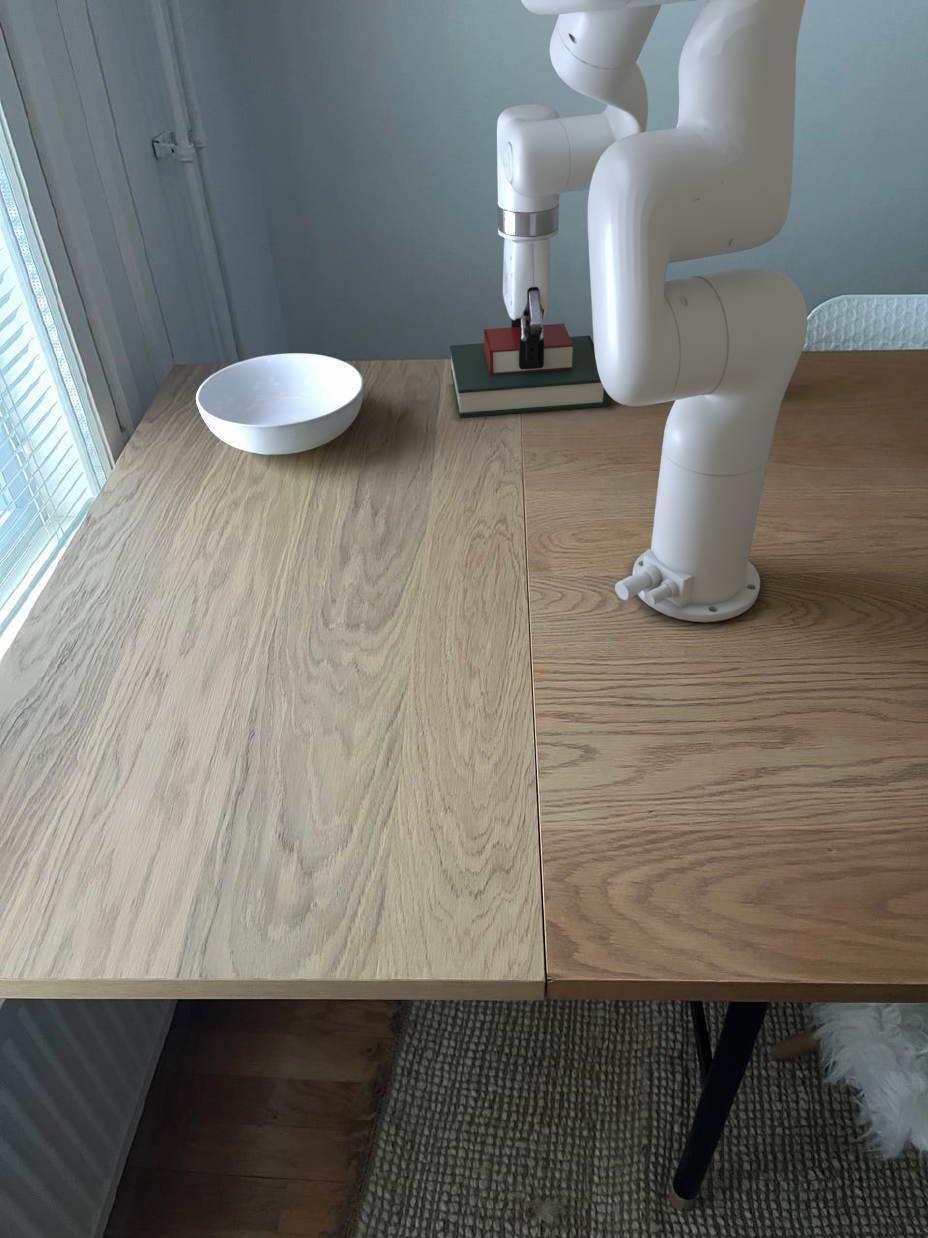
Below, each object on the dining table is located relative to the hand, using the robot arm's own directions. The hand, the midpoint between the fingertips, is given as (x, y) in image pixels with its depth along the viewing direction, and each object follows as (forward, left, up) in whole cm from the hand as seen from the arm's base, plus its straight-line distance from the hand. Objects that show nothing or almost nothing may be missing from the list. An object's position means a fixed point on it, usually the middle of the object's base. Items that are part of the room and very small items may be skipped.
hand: (527, 354), depth 128 cm
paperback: (0, 0, -1) cm, 1 cm away
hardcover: (0, 0, -5) cm, 5 cm away
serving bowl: (-32, +10, -5) cm, 34 cm away
